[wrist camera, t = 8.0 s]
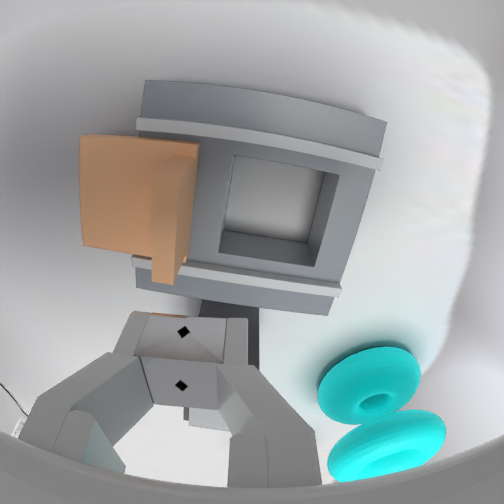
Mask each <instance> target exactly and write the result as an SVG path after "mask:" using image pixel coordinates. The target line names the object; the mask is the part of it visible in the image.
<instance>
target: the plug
mask: <svg viewBox="0 0 504 504" xmlns="http://www.w3.org/2000/svg"><path fill="white" fill-rule="evenodd" d="M199 317H212V318H247V319H248V365H254V366H255V367H256V368H257V369H258V370H259V307H252V306H245V305H238V304H231V303H224V302H218V301H211V300H205V299H203V301H202V305H201V309H200V314H199ZM184 420H188V421H189V426H194V427H200V428H207V429H214V430H222V431H230V430H229V428H228V427H227V425H226V423H225V422H224V420H223V419H222V417H221V415H220V414H219V412H218V410H209V409H199V408H190V407H184Z"/></svg>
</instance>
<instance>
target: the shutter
mask: <svg viewBox="0 0 504 504" xmlns="http://www.w3.org/2000/svg"><path fill="white" fill-rule="evenodd" d="M199 148H200V143H199V142H190V141H181V140H171V139H161V138H149V137H136V136H120V135H99V134H86V135H83V136H80V150H79V184H80V211H81V226H82V239H83V246H89V247H95V248H100V249H106V250H112V251H118V252H124V253H129V254H135V255H141V256H147V257H152V282H158V283H164V284H170V285H174V282H175V280H176V277H177V275H178V272H179V270H180V267H181V265H182V262H184V263H186V261H187V258H188V256H189V244H190V232H191V221H192V210H193V200H194V191H195V181H196V173H197V164H198V156H199Z"/></svg>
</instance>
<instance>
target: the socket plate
mask: <svg viewBox="0 0 504 504" xmlns="http://www.w3.org/2000/svg"><path fill="white" fill-rule="evenodd" d="M386 125H387V122H385V121H382V120H379V119H376V118H373V117H369V116H366V115H363V114H359V113H356V112H352V111H349V110H345V109H341V108H337V107H333V106H329V105H325V104H321V103H317V102H313V101H308V100H304V99H299V98H294V97H290V96H284V95H279V94H274V93H268V92H262V91H256V90H250V89H243V88H236V87H228V86H220V85H211V84H201V83H189V82H175V81H155V80H145V85H144V93H143V101H142V109H141V117H139V118H136V127H135V130H139V137H149V138H161V139H171V140H181V141H190V142H199V143H200V148H199V156H198V164H197V173H196V181H195V191H194V200H193V210H192V221H191V232H190V244H189V256H188V258H187V261H186V263H184V262H182V265H181V267H180V270H179V272H178V275H177V277H176V280H175V282H174V285H170V284H164V283H158V282H152V257H147V256H141V255H135V254H134V255H133V256H132V266H133V267H136V288H141V289H146V290H152V291H157V292H163V293H169V294H175V295H180V296H186V297H192V298H198V299H205V300H211V301H218V302H224V303H231V304H238V305H245V306H252V307H259V308H266V309H274V310H282V311H290V312H298V313H307V314H315V315H324V316H327V315H328V313H329V310H330V308H331V305H332V302H333V300H334V297H339V295H340V293H341V290H342V288H341V285H340V281H341V278H342V275H343V272H344V269H345V267H346V264H347V261H348V258H349V255H350V252H351V249H352V246H353V243H354V240H355V237H356V234H357V230H358V227H359V224H360V221H361V218H362V214H363V211H364V208H365V204H366V201H367V198H368V194H369V191H370V187H371V184H372V180H373V176H374V173H375V170H379V171H380V169H381V165H382V161H383V159H381V158H379V154H380V150H381V146H382V142H383V137H384V133H385V129H386ZM235 155H237V156H244V157H250V158H256V159H262V160H268V161H273V162H279V163H284V164H290V165H295V166H300V167H305V168H310V169H315V170H320V171H324V172H325V175H324V179H323V183H322V187H321V191H320V195H319V199H318V203H317V207H316V211H315V215H314V219H313V223H312V227H311V230H310V234H309V238H308V242H307V243H301V242H294V241H288V240H282V239H276V238H270V237H263V236H257V235H251V234H244V233H238V232H231V231H225V230H224V224H225V216H226V209H227V203H228V196H229V189H230V182H231V176H232V169H233V163H234V156H235Z"/></svg>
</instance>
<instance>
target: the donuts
mask: <svg viewBox="0 0 504 504" xmlns="http://www.w3.org/2000/svg"><path fill="white" fill-rule="evenodd" d="M420 375H421V372H420V367H419V364H418V362H417V360H416V359H415V358H414V357H413V355H412V354H410V353H409V352H407V351H405V350H403V349H400V348H396V347H376V348H371V349H367V350H363V351H360V352H358V353H355V354H353V355H351V356H349V357H347V358H345V359H344V360H342V361H341V362H339V363H338V364H337V365H335V366H334V367H333V368H332V369H331V370H330V371H329V372H328V373H327V374H326V375H325V377H324V378H323V380H322V382H321V384H320V386H319V390H318V403H319V406H320V408H321V410H322V411H323V412H324V413H325V415H327V416H328V417H329V418H331V419H332V420H334V421H337V422H340V423H344V424H352V425H357V424H362V425H360V426H358V427H356V428H355V429H353V430H352V431H350V432H349V433H347V434H346V435H345V436H343V437H342V438H341V439H340V440H339V441H338V442H337V443H336V444H335V446H334V447H333V449H332V450H331V452H330V454H329V457H328V462H327V466H328V470H329V472H330V474H331V475H332V477H333V478H334V479H336V480H338V481H340V482H347V481H354V480H360V479H365V478H371V477H376V476H381V475H386V474H390V473H394V472H399V471H403V470H407V469H410V468H414V467H418V466H420V465H422V464H424V463H425V462H426V461H428V460H429V459H430V458H432V457H433V456H434V455H435V454H436V453H437V452H438V450H439V449H440V448H441V446H442V444H443V442H444V440H445V435H446V427H445V424H444V422H443V421H442V419H441V418H440V417H439V416H437V415H436V414H434V413H431V412H429V411H424V410H405V411H399V412H396V411H398V410H399V409H400V408H402V407H403V406H404V405H405V404H406V403H407V402H408V401H409V400H410V399H411V398H412V396H413V395H414V394H415V392H416V390H417V388H418V385H419V382H420Z"/></svg>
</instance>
